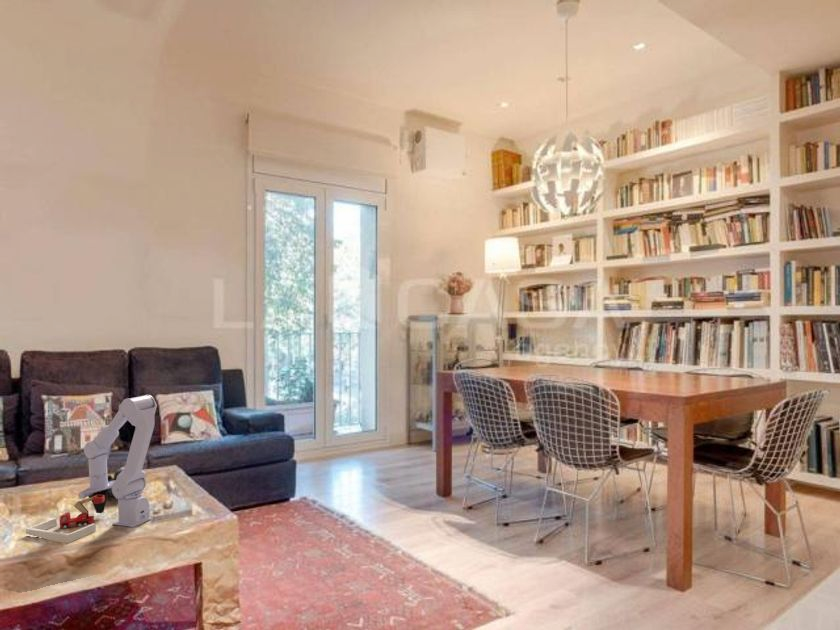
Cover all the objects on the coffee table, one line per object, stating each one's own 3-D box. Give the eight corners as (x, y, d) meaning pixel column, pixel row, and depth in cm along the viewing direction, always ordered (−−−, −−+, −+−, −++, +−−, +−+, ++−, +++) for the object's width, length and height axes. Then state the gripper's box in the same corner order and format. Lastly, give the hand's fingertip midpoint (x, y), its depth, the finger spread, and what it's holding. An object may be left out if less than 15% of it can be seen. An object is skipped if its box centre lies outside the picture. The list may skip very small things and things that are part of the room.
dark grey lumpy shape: (95, 496, 231) (109, 461, 237) (127, 503, 236) (139, 468, 242) (98, 494, 219) (113, 457, 225) (132, 502, 224) (145, 465, 230)
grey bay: (95, 531, 195) (95, 523, 195) (68, 543, 185) (68, 535, 185) (54, 525, 201) (54, 518, 201) (26, 536, 192) (25, 528, 192)
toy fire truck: (61, 526, 201) (60, 497, 200) (106, 520, 204) (104, 493, 204) (58, 529, 197) (57, 501, 197) (103, 524, 201) (102, 496, 201)
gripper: (107, 467, 215) (108, 504, 215) (71, 479, 202) (73, 518, 202) (121, 469, 213) (123, 506, 213) (86, 480, 199) (88, 520, 199)
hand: (99, 512), depth 207 cm, fingers closed
